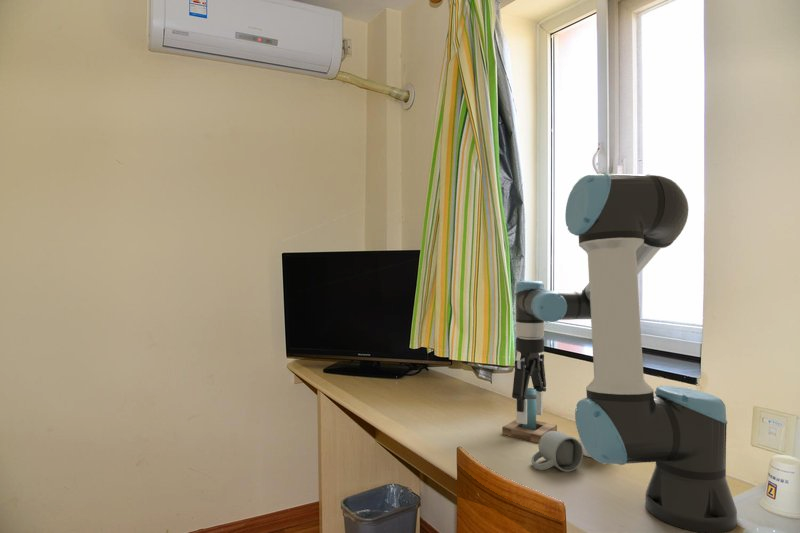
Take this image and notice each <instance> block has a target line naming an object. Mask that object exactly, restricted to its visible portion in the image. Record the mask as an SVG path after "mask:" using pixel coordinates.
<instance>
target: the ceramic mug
mask: <svg viewBox="0 0 800 533" xmlns="http://www.w3.org/2000/svg"><path fill="white" fill-rule="evenodd" d="M583 457H584V455H583V448H582V445H581V444H580V440H579V439H577V438H575V437H573V436H570V435H567V434H565V433H562V432H560V431H558V430H557V431H548V432H546V433H545V434H543V435H542V437H541V438H540V441H539V443H538V452H536V453H534V454H533V455H532V457H531V460H530V462H531V464H532V467H533V468H534V469H535V470H538V471H544V470H548V469H550V468H553V467H555V468H557V469H558V470H560V471H562V472H565V473H569V472H573V471H575V470H576V469H577V468H579V467H580V465H581V463H582V461H583ZM541 458H543V459H544V460H545V462H542V463H537V461H538V460H539V459H541Z"/></svg>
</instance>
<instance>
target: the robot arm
mask: <svg viewBox="0 0 800 533" xmlns="http://www.w3.org/2000/svg"><path fill="white" fill-rule="evenodd" d="M688 217H689V203H688V199H687V196H686V194H685V192H684V190H683V188H681V186H680V185H679V184H678V183H677V182H675V181H674V180H672V179H671V178H669V177H667V176H663V175H661V174H652V173H651V174H650V173H649V174H631V173H608V172H603V173H597V174H595V173H594V174H591V173H590V174H586V175H583V176H582V177H580V178H579V179H578V180H577V181H576V182H575V183H574V185H573V186H572V188H571V191H570V193H569V194H568V198H567V202H566V207H565V218H564V219H565V225H566V227H567V231H568V232H569V233H570V234H572V235H573V236H577V237H578V246H579V247H580V248H581V249H582V250H583V251H584V252H585V253H586V254H587V268H588V283H587V285H585V287H584V288H583V289H571V290H570V289H568V290H565V289H562V290H559V289H558V290H556V289H555V290H545V284H544V282H543V281H540V280H520V281H517V282H516V285H515V294H514V295H515V324H514V327H515V336H516V338H515V350H516V352H518V353H520V358H519V360H517V359H516V360H514V374H513V375H514V376H513V384H512V392H511V398H512V399H514V400H516V419H517V423H521V424H527V399H525V398H526V393H527V388H529V384H530V383H529V382H530V379H531V382H532V388H533V389H536V393H537V398H536V416H543V393H544V392H546V391H547V388H546V387H547V381H546V371H545V370H546V368H545V355H544V354H543V352H544V351H545V340H544V338H543V337H544V336H545V322H546V323H547V322H549V323H554V322H558V321H563V320H564V321H565V320H566V321H567V320H590V322H591V325H590V326H591V341H592V343H591V344H592V359H593V360H592V361H593V362H592V364H593V379H592V381H591V382H590V383H589V384H588V385H587V386H586V397H584V398H582V399H580V400H579V401H578V402H577V403H576V408H575V412H574V418H575V426H576V429H577V433H578V437H580V439H581V442H582V444H583V445H584V447H585V449H586V451H587V452H588V453H589V455H590V456H591V457H592V459H593V460H594V461H596V462H598V463H600V464H604V465H610V464H611V465H619V466H624V465H626V464H639V463H640V464H642V463H655V466H654V467H655V468H654V469H653V472H652V475H651V477H650V479H649V482H648V486H647V489H646V490H645V495H644V496H645V501H644V503H645V507H646V509H647V510H648V512H649V513H650V514H651V515H653V516H654V517H656V518H657V519H658V520H660V521H662V522H664V523H667V524H669V525H671V526H673V527H677V528H680V529H683V530H688V531H693V532H698V533H724V532H728V531H731V530H734V528H736V526H737V525H738V523H737V522H738V510H737V507H736V505H735V502H734V498H733V496H732V495H733V494H732V492H731V490H730V487H729V484H728V481H727V474H726V473H727V472H726V471H727V427H728V426H727V425H728V420H727V409H726V404H725V402H724V401H723V400H722V399H720V397H717V396H715V395H713V394H710V393H708V392H704V391H701V390H697V389H691V388H688V387H687V388H686V387H681V386H673V385H660V386H657V387H656V389H655V391H654V388H653V387H652V386H650V385H649V384H648V383H647V382H646V380H645V379H644V378H645V377H644V363H643V347H642V345H643V344H642V331H641V329H642V328H641V315H640V314H641V313H640V310H641V309H640V298H639V296H640V295H639V283H638V282H639V281H638V278H639V277H638V275H639V274H640V272H642V270H643V269H644V268H645V267H646V266H647V264H649V263H650V262H651V260H652V259H653V258H654V256H656V255H657V253H658V252H659V251H660V250H661V249H665V248H669V247H670V246H671V245H672V244H673V243H674V242H675V240H677V238H678V237H679V236H680V235H681V234H682V232H683V230H684V228H685V226H686V224H687V222H688ZM591 457H590V458H591Z"/></svg>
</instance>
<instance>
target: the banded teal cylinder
mask: <svg viewBox="0 0 800 533" xmlns="http://www.w3.org/2000/svg"><path fill="white" fill-rule="evenodd" d="M536 398H537V393H536V389H534V387H528V388H527V393H526V398H525V399H527V424H523V428H525V429H530V430H534V431H535V430H536V421H537V415H536Z"/></svg>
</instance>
